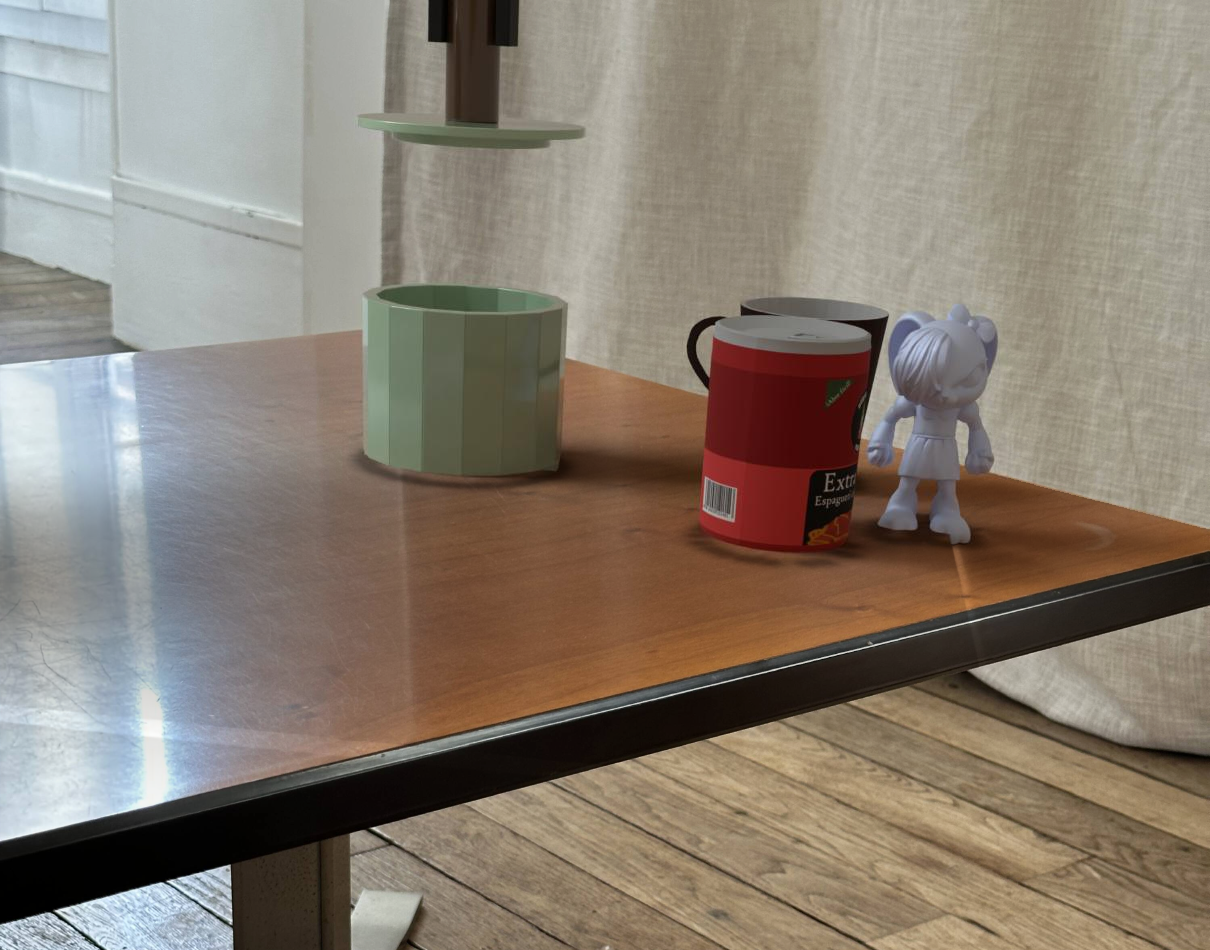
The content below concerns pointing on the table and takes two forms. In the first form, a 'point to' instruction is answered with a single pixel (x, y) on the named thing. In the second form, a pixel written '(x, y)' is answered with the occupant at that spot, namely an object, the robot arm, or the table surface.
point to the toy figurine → (936, 412)
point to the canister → (463, 378)
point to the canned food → (783, 432)
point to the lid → (471, 94)
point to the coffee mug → (805, 308)
